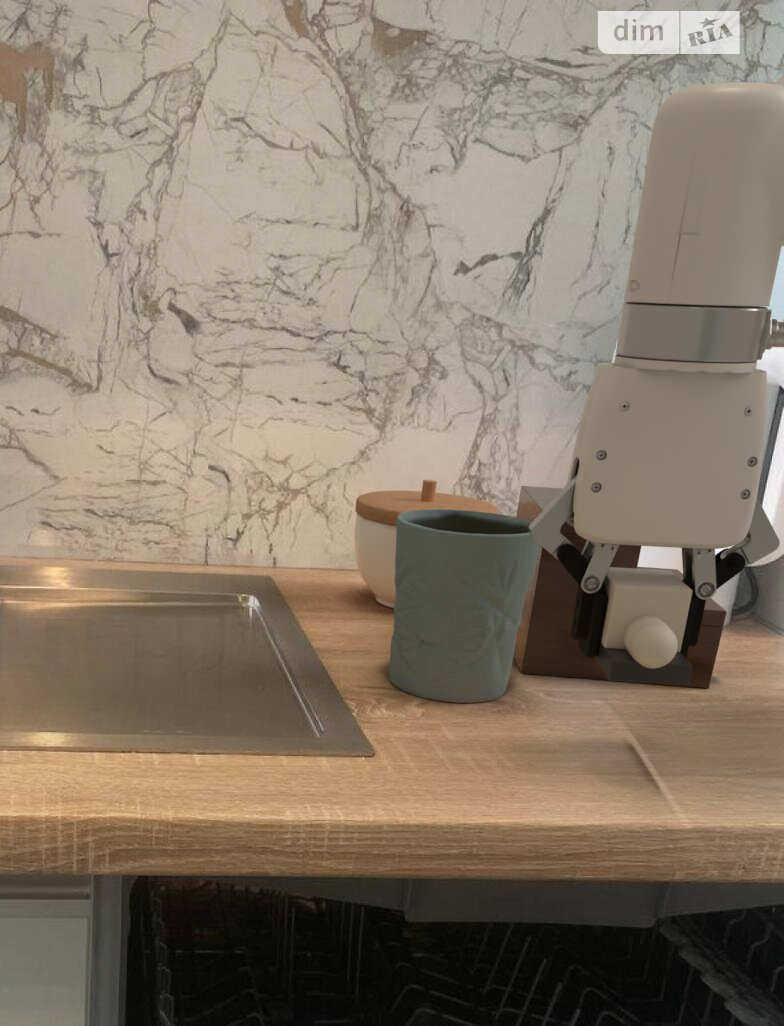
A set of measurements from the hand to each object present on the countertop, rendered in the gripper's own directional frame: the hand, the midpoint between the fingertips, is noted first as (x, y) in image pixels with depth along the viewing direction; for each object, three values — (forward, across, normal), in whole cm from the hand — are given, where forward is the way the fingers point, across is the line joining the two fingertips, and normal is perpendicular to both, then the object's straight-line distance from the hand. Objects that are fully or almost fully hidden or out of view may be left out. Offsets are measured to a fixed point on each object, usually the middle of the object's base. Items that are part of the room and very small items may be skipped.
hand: (630, 651), depth 74 cm
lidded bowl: (+7, +11, -36) cm, 38 cm away
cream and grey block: (0, 0, +1) cm, 1 cm away
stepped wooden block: (+7, -3, -23) cm, 24 cm away
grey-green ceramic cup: (+7, +10, -12) cm, 17 cm away
